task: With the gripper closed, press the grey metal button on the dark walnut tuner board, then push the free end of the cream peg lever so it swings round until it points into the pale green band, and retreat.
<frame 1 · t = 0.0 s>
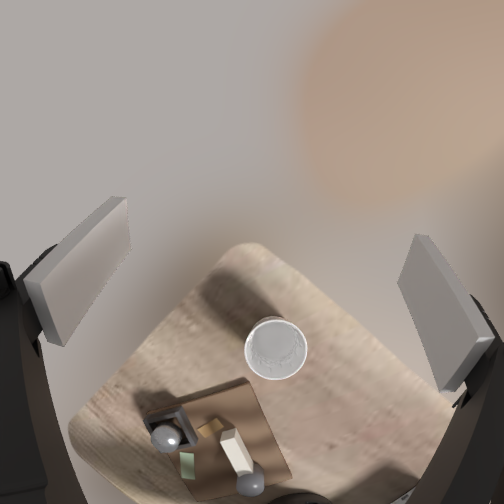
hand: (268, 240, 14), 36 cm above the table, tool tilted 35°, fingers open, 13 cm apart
peg lever: (242, 464, 43), point 4 cm above the table, hinge at 0.0°
white cup: (272, 336, 49), on the table
tuner board: (220, 447, 47), on the table
button: (166, 437, 42), point 5 cm above the table, slide at 0.0 cm
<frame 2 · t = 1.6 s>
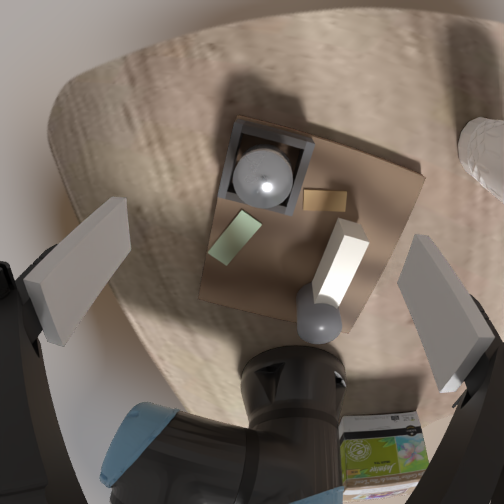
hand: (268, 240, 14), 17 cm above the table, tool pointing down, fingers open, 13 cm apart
peg lever: (331, 284, 30), point 4 cm above the table, hinge at 0.0°
tea box: (373, 424, 51), on the table
white cup: (480, 147, 26), on the table
tuner board: (304, 237, 33), on the table
button: (263, 175, 25), point 5 cm above the table, slide at 0.0 cm
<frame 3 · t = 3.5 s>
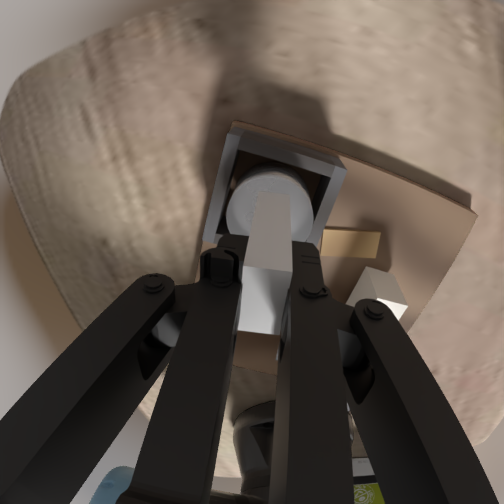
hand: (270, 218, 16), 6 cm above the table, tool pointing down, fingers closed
peg lever: (350, 350, 22), point 4 cm above the table, hinge at 0.0°
tea box: (376, 464, 43), on the table
tuner board: (317, 286, 25), on the table
button: (270, 208, 17), point 4 cm above the table, slide at 1.0 cm
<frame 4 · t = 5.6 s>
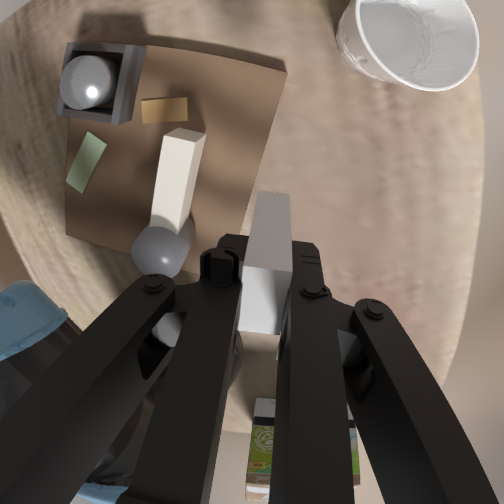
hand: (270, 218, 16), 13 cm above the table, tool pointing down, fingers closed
peg lever: (170, 205, 25), point 4 cm above the table, hinge at 0.0°
tea box: (300, 413, 46), on the table
white cup: (374, 41, 21), on the table
tuner board: (155, 159, 27), on the table
button: (90, 81, 20), point 4 cm above the table, slide at 1.3 cm
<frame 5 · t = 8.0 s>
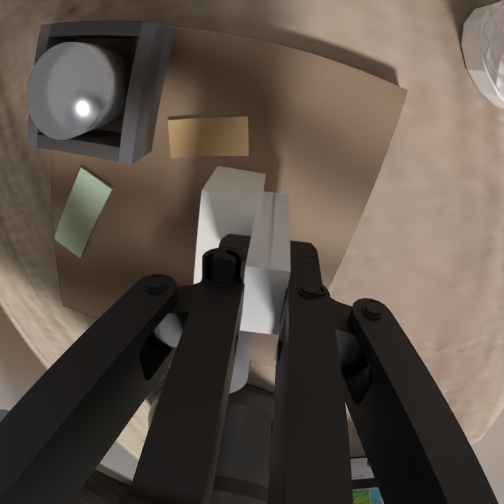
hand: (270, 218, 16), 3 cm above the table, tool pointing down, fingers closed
peg lever: (220, 293, 16), point 4 cm above the table, hinge at 4.9°, touching gripper
tea box: (345, 466, 38), on the table
white cup: (500, 57, 12), on the table
tuner board: (190, 210, 19), on the table
button: (79, 87, 12), point 4 cm above the table, slide at 1.3 cm
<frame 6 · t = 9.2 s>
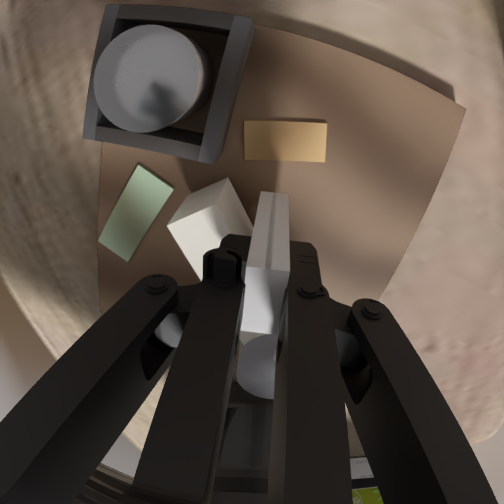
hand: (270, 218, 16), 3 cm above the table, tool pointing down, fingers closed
peg lever: (251, 301, 17), point 4 cm above the table, hinge at 39.4°, touching gripper
tea box: (367, 464, 38), on the table
tuner board: (254, 214, 19), on the table
button: (155, 77, 12), point 4 cm above the table, slide at 1.3 cm
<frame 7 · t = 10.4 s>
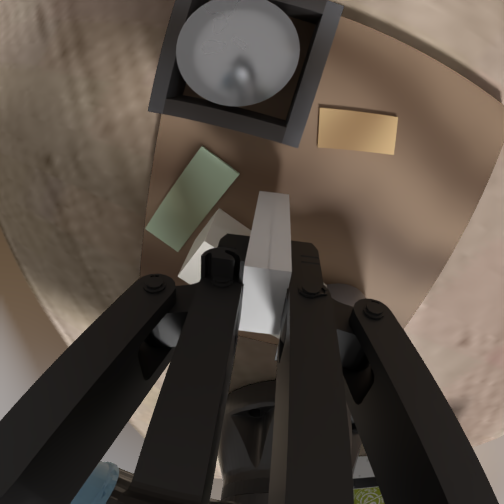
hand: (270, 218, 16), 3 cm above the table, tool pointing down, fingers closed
peg lever: (290, 308, 17), point 4 cm above the table, hinge at 68.3°, touching gripper
tea box: (387, 462, 37), on the table
tuner board: (316, 204, 18), on the table
button: (241, 52, 11), point 4 cm above the table, slide at 1.3 cm
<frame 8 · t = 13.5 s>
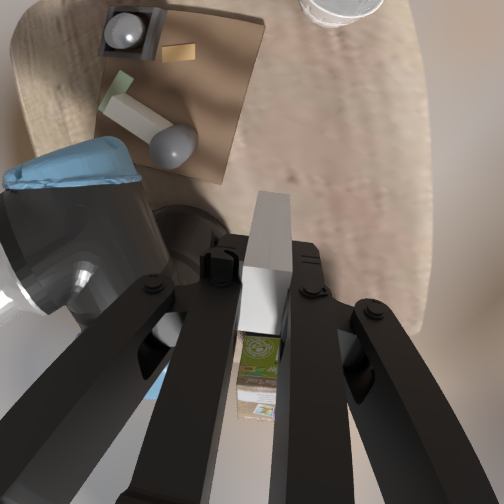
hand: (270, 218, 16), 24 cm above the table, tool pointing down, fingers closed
peg lever: (149, 128, 33), point 4 cm above the table, hinge at 68.4°
tea box: (290, 336, 54), on the table
white cup: (328, 3, 28), on the table
tuner board: (169, 89, 35), on the table
button: (127, 31, 28), point 4 cm above the table, slide at 1.3 cm
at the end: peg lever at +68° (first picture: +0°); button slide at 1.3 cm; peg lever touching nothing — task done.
